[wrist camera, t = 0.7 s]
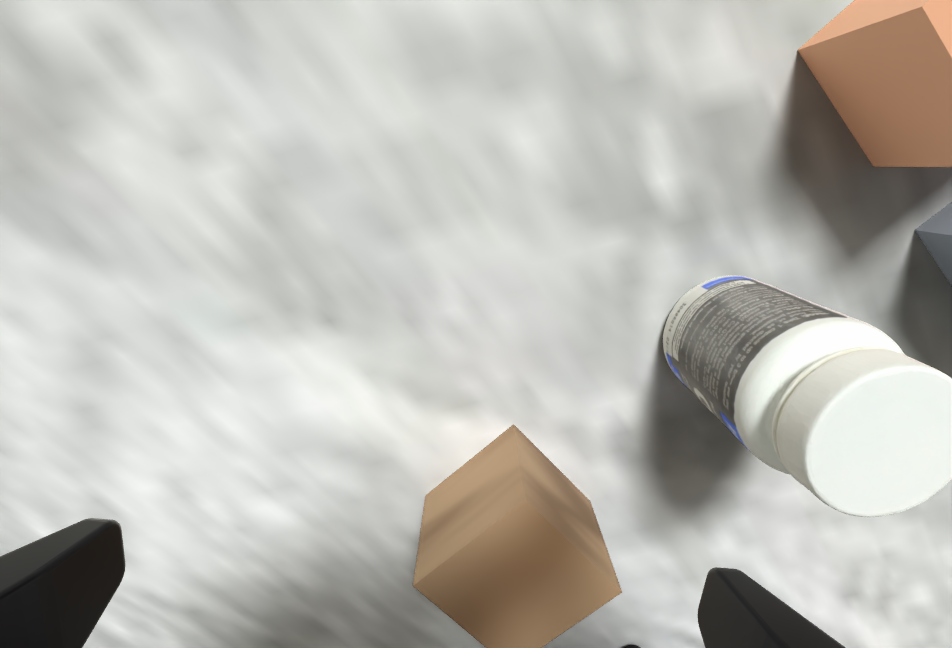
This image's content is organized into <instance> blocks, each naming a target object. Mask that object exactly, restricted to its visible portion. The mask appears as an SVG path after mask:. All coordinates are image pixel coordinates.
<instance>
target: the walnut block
mask: <svg viewBox="0 0 952 648" xmlns="http://www.w3.org/2000/svg"><path fill="white" fill-rule="evenodd" d="M413 586H414V587H415V588H416V589H417V590H418V591H420V592H421V593H422V594H423V595H424V596H425V597H427V598H428V599H429V600H430V601H431V602H433V603H434V604H435V605H436V606H437V607H439V608H440V609H441V610H442V611H443V612H445V613H446V614H447V615H448V616H449V617H450V618H452V619H453V620H454V621H455V622H456V623H458V624H459V625H460V626H461V627H462V628H464V629H465V630H466V631H467V632H468V633H470V634H471V635H472V636H473V637H474V638H475V639H477V640H478V641H479V642H480V643H481V644H483V645H484V646H485V647H486V648H542V647H543V646H545V645H546V644H547V643H549V642H550V641H552V640H553V639H555V638H556V637H558V636H559V635H561V634H562V633H564V632H565V631H566V630H568V629H569V628H571V627H572V626H574V625H575V624H577V623H578V622H580V621H581V620H582V619H584V618H585V617H587V616H588V615H590V614H591V613H593V612H594V611H596V610H597V609H599V608H600V607H601V606H603V605H604V604H606V603H607V602H609V601H610V600H612V599H613V598H615V597H616V596H617V595H619V594H620V593H622V591H621V588H620V585H619V582H618V579H617V576H616V573H615V571H614V568H613V565H612V562H611V559H610V556H609V553H608V551H607V548H606V545H605V542H604V539H603V536H602V534H601V531H600V528H599V525H598V522H597V519H596V516H595V514H594V511H593V508H592V505H591V502H590V501H589V500H588V499H587V498H586V497H585V496H584V495H583V494H582V493H581V492H580V491H579V490H578V489H577V488H576V487H575V486H574V485H573V484H572V482H571V481H570V480H569V479H568V478H567V477H566V476H565V475H564V474H563V473H562V472H561V471H560V470H559V469H558V468H557V467H556V466H555V465H554V464H553V463H552V462H551V461H550V460H549V459H548V458H547V457H546V456H545V455H544V454H543V453H542V452H541V451H540V450H539V449H538V448H537V447H536V446H535V445H534V444H533V443H532V442H531V441H530V440H529V439H528V438H527V437H526V436H525V435H524V434H523V433H522V432H521V431H520V430H519V429H518V428H517V427H516V426H515V425H512V426H511V427H510V428H509V429H507V430H506V431H505V432H504V433H502V434H501V435H500V436H499V437H497V438H496V439H495V440H494V441H493V442H491V443H490V444H489V445H488V446H486V447H485V448H484V449H483V450H481V451H480V452H479V453H478V454H476V455H475V456H474V457H473V458H472V459H470V460H469V461H468V462H467V463H465V464H464V465H463V466H462V467H460V468H459V469H458V470H457V471H455V472H454V473H453V474H452V475H451V476H449V477H448V478H447V479H446V480H444V481H443V482H442V483H441V484H439V485H438V486H437V487H436V488H434V489H433V490H432V491H431V492H430V493H428V494H427V495H426V496H425V503H424V510H423V518H422V525H421V532H420V539H419V546H418V553H417V560H416V567H415V574H414V581H413Z"/></svg>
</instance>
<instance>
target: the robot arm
mask: <svg viewBox="0 0 952 648" xmlns="http://www.w3.org/2000/svg"><path fill="white" fill-rule="evenodd" d="M124 572H125V557H124V548H123V539H122V530H121V526H120V524H119V523H118V522H117V521H115V520H108V519H95V518H90V519H85V520H82V521H80V522H78V523H76V524H73V525H71V526H69V527H67V528H64V529H62V530H60V531H57V532H55V533H53V534H51V535H48V536H46V537H44V538H41V539H39V540H37V541H35V542H32V543H30V544H28V545H26V546H23V547H21V548H19V549H16V550H14V551H12V552H10V553H7V554H5V555H3V556H0V648H82V647H83V646H84V644H85V642H86V641H87V639H88V637H89V635H90V634H91V632H92V630H93V629H94V627H95V625H96V624H97V622H98V620H99V619H100V617H101V615H102V614H103V612H104V610H105V608H106V607H107V605H108V603H109V602H110V600H111V598H112V597H113V595H114V593H115V592H116V590H117V588H118V587H119V585H120V583H121V581H122V578H123V576H124ZM698 623H699V628H700V631H701V635H702V638H703V641H704V645H705V648H845V647H844V646H843V645H841V644H840V643H838V642H837V641H836V640H834V639H833V638H832V637H830V636H829V635H828V634H826V633H825V632H823V631H822V630H821V629H819V628H818V627H817V626H815V625H814V624H813V623H811V622H810V621H808V620H807V619H806V618H804V617H803V616H802V615H800V614H799V613H798V612H796V611H795V610H793V609H792V608H791V607H789V606H788V605H787V604H785V603H784V602H783V601H781V600H780V599H778V598H777V597H776V596H774V595H773V594H772V593H770V592H769V591H768V590H766V589H765V588H763V587H762V586H761V585H759V584H758V583H757V582H755V581H754V580H753V579H751V578H750V577H748V576H747V575H746V574H744V573H743V572H741V571H740V570H737V569H729V568H712V569H711V570H710V571H709V572H708V575H707V578H706V582H705V585H704V589H703V593H702V596H701V600H700V604H699V608H698ZM625 648H640V647H638V646H636V645H630V646H627V647H625Z"/></svg>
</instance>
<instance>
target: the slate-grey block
mask: <svg viewBox="0 0 952 648" xmlns="http://www.w3.org/2000/svg"><path fill="white" fill-rule="evenodd" d="M915 231H916V233H917V234H918V236H919V237H920V239H921V240H922V242H923V243H924V245H925V246H926V248H927V249H928V251H929V252H930V254H931V256H932V257H933V259H934V260H935V262H936V263H937V265H938V266H939V268H940V269H941V271H942V272H943V274H944V276H945V277H946V279H947V280H948V282H949V283H950V285H951V286H952V202H951V203H950V204H949V205H947V206H946V207H945V208H943V209H942V210H941V211H939V212H938V213H937V214H935V215H934V216H933V217H931V218H930V219H929V220H927V221H926V222H925V223H923V224H922V225H921V226H919V227H918V228H917V229H915Z"/></svg>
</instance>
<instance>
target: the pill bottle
mask: <svg viewBox="0 0 952 648" xmlns="http://www.w3.org/2000/svg"><path fill="white" fill-rule="evenodd" d="M663 348H664V353H665V357H666V360H667V362H668V364H669V366H670V368H671V370H672V371H673V372H674V374H675V375H676V376H677V378H678V379H679V380H680V381H681V382H682V383H683V384H684V385H685V386H686V387H687V388H688V389H689V390H690V391H691V392H692V393H693V394H694V395H695V396H696V397H697V398H698V400H699V401H700V402H702V403H703V404H704V405H705V406H706V407H707V408H708V409H709V410H710V411H711V412H712V413H713V414H714V415H715V416H716V417H717V418H718V419H719V420H720V421H721V422H722V423H723V424H724V425H725V426H726V427H727V428H728V429H729V430H730V431H731V433H732V434H733V435H734V436H735V437H736V438H737V439H738V440H739V441H740V442H741V443H742V444H743V445H744V446H745V447H746V448H747V449H748V450H749V451H750V452H751V453H752V454H753V455H755V456H756V457H757V458H758V459H760V460H761V461H762V462H764V463H765V464H767V465H768V466H770V467H772V468H774V469H776V470H778V471H781V472H784V473H787V474H791V475H792V476H793V477H794V478H795V479H796V480H797V481H798V482H800V483H801V484H802V485H804V486H805V487H806V488H807V489H808V490H810V491H811V492H812V493H813V494H814V495H815V496H816V497H818V498H819V499H820V500H821V501H822V502H824V503H825V504H827V505H828V506H830V507H832V508H834V509H835V510H838V511H840V512H843V513H845V514H849V515H854V516H861V517H878V516H885V515H891V514H896V513H899V512H903V511H905V510H908V509H910V508H913V507H915V506H917V505H919V504H921V503H923V502H924V501H926V500H928V499H929V498H930V497H932V496H933V495H934V494H936V493H937V492H938V491H940V490H941V489H942V488H943V487H944V486H945V485H946V484H947V483H949V482H950V481H951V480H952V378H950V377H949V376H948V375H946V374H944V373H942V372H941V371H939V370H937V369H935V368H933V367H930V366H928V365H926V364H924V363H922V362H919V361H917V360H915V359H913V358H910V357H908V356H906V355H905V354H904V353H903V351H902V350H901V348H900V347H899V346H898V345H897V344H896V343H895V342H894V341H893V340H892V339H891V338H890V337H889V336H888V335H886V334H885V333H884V332H882V331H881V330H879V329H877V328H876V327H874V326H872V325H870V324H868V323H866V322H863V321H860V320H858V319H855V318H852V317H850V316H848V315H845V314H842V313H840V312H837V311H834V310H832V309H830V308H827V307H824V306H821V305H818V304H816V303H813V302H811V301H808V300H806V299H803V298H801V297H798V296H796V295H794V294H791V293H789V292H786V291H783V290H781V289H779V288H777V287H775V286H773V285H769V284H766V283H763V282H760V281H758V280H755V279H752V278H749V277H744V276H737V275H729V276H721V277H715V278H712V279H709V280H707V281H704V282H702V283H700V284H699V285H697V286H695V287H694V288H692V289H691V290H689V291H688V292H687V293H686V294H684V295H683V296H682V297H681V298H680V299H679V301H678V302H677V303H676V305H675V306H674V308H673V310H672V311H671V313H670V315H669V317H668V319H667V322H666V325H665V329H664V333H663Z"/></svg>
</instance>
